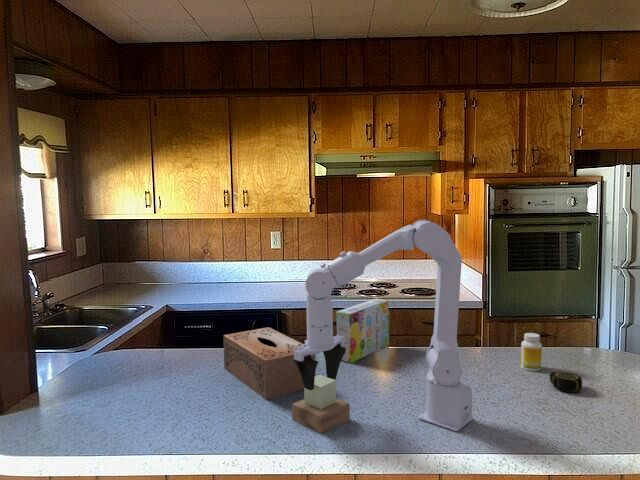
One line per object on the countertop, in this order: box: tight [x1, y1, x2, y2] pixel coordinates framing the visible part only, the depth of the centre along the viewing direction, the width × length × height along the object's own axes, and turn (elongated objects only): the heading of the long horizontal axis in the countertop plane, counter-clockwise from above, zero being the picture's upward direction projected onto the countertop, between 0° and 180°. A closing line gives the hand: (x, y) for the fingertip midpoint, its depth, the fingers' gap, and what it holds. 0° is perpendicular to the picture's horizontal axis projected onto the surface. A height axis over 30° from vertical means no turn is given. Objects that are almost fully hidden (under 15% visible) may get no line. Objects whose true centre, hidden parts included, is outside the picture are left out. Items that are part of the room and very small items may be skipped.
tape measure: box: [549, 371, 583, 393], centre depth 128 cm, size 7×7×4 cm
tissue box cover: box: [222, 326, 316, 400], centre depth 138 cm, size 26×14×10 cm, turn 33°
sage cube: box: [303, 374, 337, 409], centre depth 113 cm, size 5×5×5 cm
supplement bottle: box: [519, 332, 543, 372], centre depth 143 cm, size 5×5×10 cm
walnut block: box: [291, 397, 351, 434], centre depth 113 cm, size 9×9×4 cm
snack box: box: [335, 298, 390, 364], centre depth 157 cm, size 21×6×15 cm, turn 141°
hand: (320, 383), depth 113 cm, fingers open, 7 cm apart
